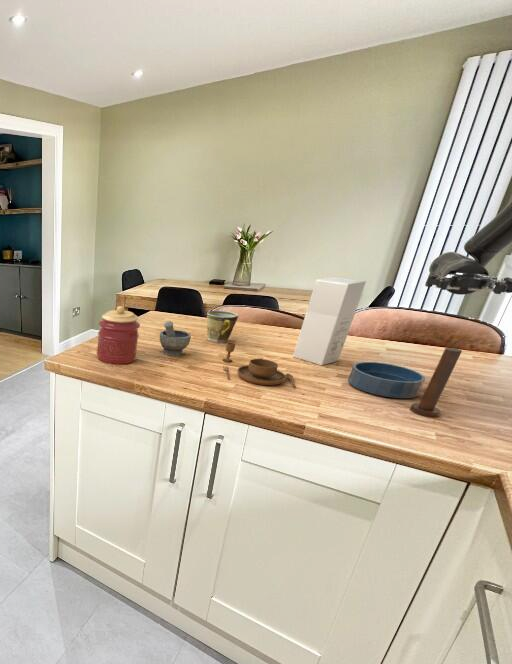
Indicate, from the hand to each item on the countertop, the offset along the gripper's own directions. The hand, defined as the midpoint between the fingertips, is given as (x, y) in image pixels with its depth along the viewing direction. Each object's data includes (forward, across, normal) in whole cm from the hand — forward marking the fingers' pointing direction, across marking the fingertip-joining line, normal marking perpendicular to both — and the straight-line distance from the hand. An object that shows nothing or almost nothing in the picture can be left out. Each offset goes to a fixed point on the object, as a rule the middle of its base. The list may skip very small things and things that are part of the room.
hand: (472, 287), depth 91 cm
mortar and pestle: (+6, -62, +28) cm, 68 cm away
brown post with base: (+11, 0, +28) cm, 30 cm away
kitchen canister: (+21, -75, +28) cm, 83 cm away
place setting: (+8, -36, +28) cm, 46 cm away
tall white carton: (-16, -24, +28) cm, 40 cm away
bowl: (0, -8, +28) cm, 29 cm away
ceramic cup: (-17, -53, +28) cm, 62 cm away
